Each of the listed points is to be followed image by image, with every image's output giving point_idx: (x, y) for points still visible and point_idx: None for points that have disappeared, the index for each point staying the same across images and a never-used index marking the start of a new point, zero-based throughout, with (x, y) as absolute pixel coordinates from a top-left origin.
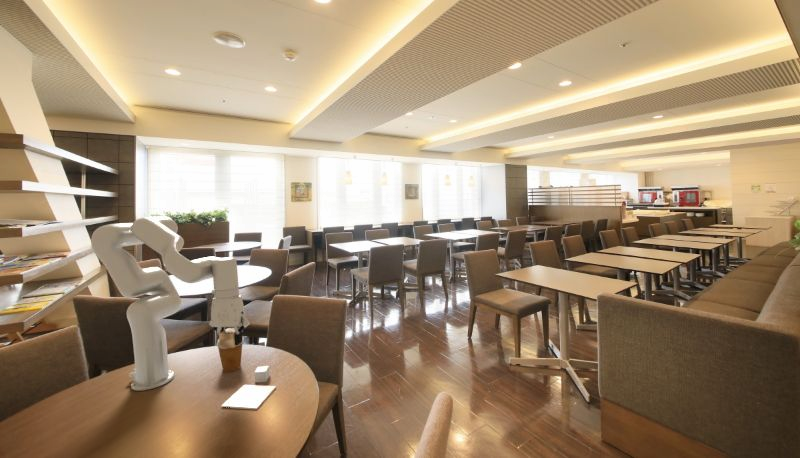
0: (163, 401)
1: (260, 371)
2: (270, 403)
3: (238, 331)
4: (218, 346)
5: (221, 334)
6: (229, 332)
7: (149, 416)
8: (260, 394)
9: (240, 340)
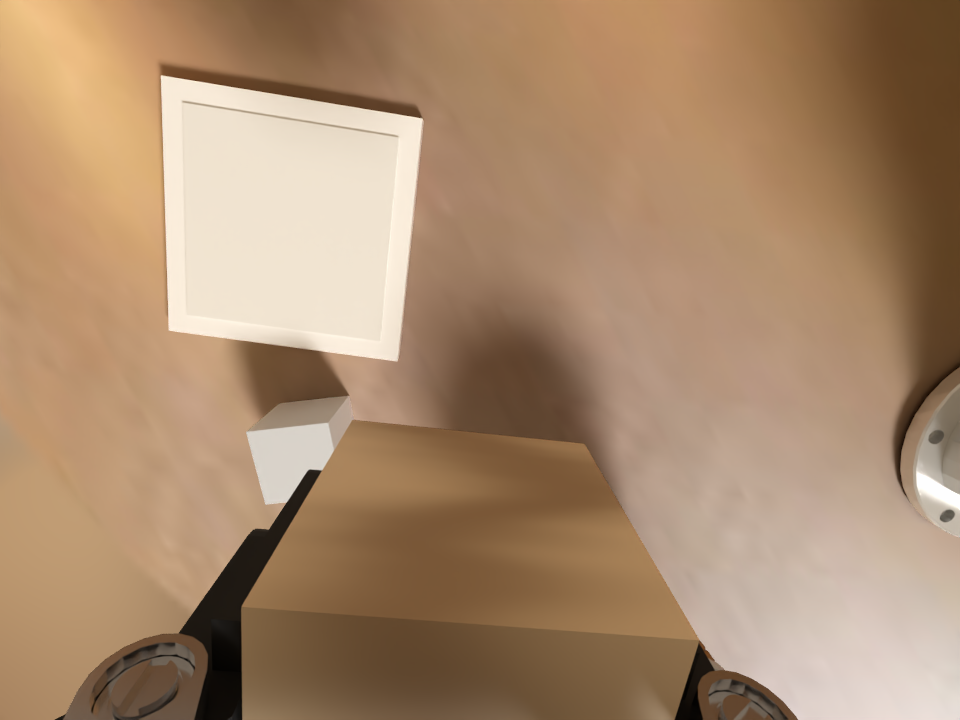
0: (838, 216)
1: (287, 432)
2: (114, 148)
3: (65, 716)
4: (718, 668)
5: (604, 616)
6: (404, 701)
7: (849, 48)
8: (219, 234)
9: (249, 556)
